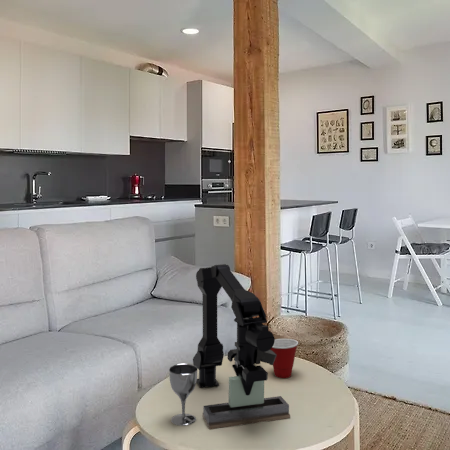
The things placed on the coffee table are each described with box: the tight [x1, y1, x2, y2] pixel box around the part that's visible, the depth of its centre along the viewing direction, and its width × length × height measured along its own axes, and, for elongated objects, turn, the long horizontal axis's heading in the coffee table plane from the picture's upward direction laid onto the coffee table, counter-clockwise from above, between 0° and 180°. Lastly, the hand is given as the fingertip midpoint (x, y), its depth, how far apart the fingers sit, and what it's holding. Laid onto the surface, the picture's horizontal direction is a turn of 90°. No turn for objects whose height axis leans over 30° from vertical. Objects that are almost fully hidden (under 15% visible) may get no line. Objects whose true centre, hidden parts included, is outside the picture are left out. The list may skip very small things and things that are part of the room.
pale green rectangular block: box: [227, 375, 265, 407], centre depth 145 cm, size 2×10×8 cm, turn 106°
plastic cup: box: [270, 338, 299, 379], centre depth 176 cm, size 11×11×12 cm
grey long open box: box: [202, 395, 291, 430], centre depth 146 cm, size 8×24×4 cm, turn 106°
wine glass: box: [168, 363, 198, 427], centre depth 144 cm, size 8×8×15 cm
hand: (246, 393), depth 145 cm, fingers closed on pale green rectangular block, 2 cm apart
